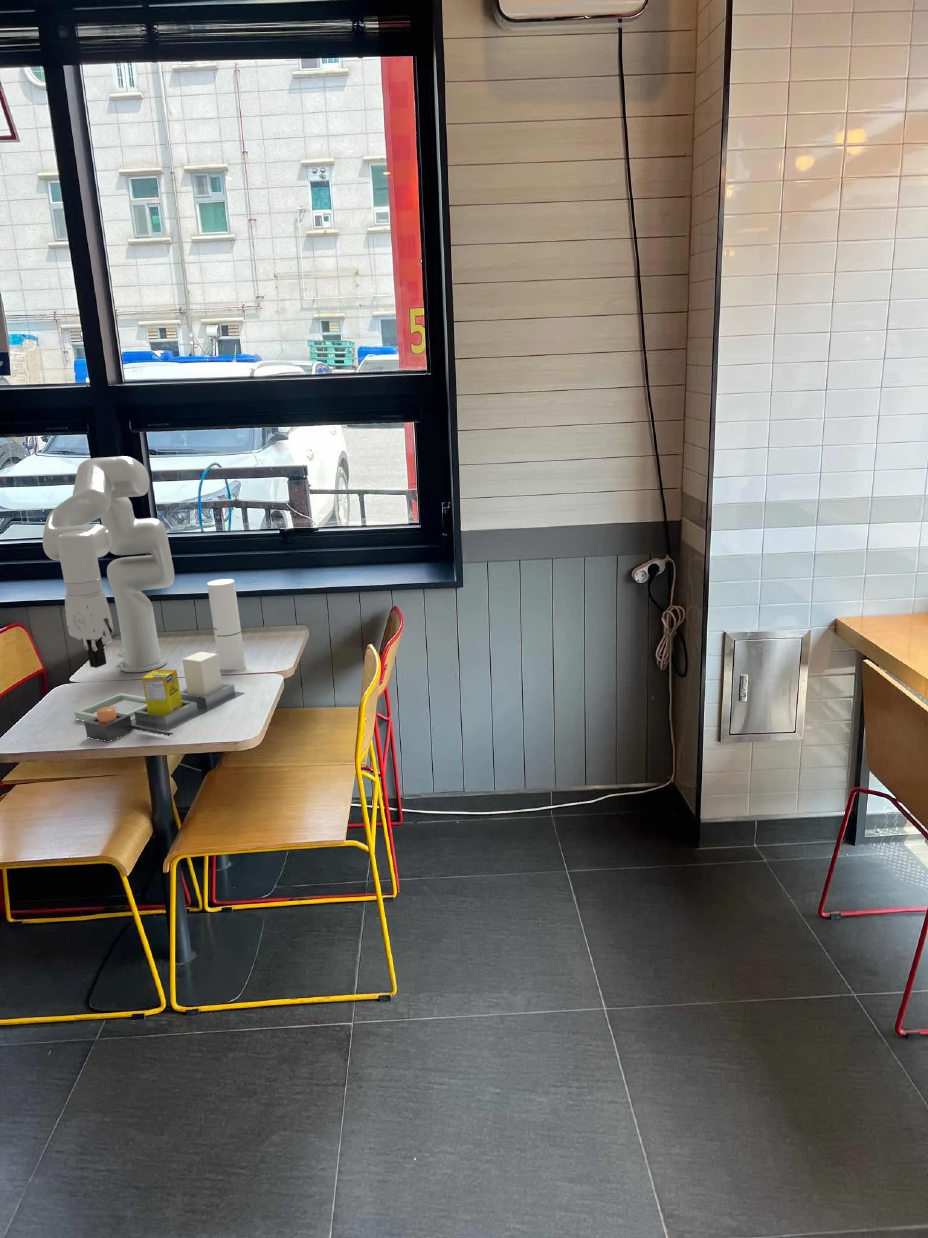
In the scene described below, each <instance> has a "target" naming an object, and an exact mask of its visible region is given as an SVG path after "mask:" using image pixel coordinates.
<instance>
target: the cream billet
mask: <svg viewBox="0 0 928 1238" xmlns="http://www.w3.org/2000/svg"><path fill="white" fill-rule="evenodd" d="M182 666H183V673H184V679H185V684H186V688H187V693H188V694H194V695H201V696H207V695H209V694H211V693H213V692H215V691H218V690H220V689H222V688H223V687H222V683H223V680H222V674H221V669H220V665H219V658H218V654H217V653H212V652H207V651H206V652H205V651H198V652H196V653H194V654H191V655H189V656H187V657H184V658H182Z"/></svg>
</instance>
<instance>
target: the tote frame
mask: <svg viewBox="0 0 928 1238" xmlns="http://www.w3.org/2000/svg"><path fill="white" fill-rule="evenodd" d="M125 700H130V701H135V702H142V703H145V704H143V705H142V706H139V707H137V708H135V709H132V710H130V711H128V712H126V713H124V714H126V715H130V718H131V717H133V716H135V714H134V712H135V711H137V710H139V709H141V708H144V707H146V706H147V704H146V699H145V696H139V695H134V694H129V693H122V692H120V693H117V694H116V695H113V696H110V697H108V698H106V699H103V700H101V701H98V702H97V703H94V704H91V705H89V706H87V707H84V708H82V709H79V710H77V711H75V712H74V716H75V720H76V719H79V720H84V721H88V720H90V719H93V718H95V717H97V710H98V709H101V708H104V707H112V706H114V705H116V704H118V703H120V702H122V701H125Z"/></svg>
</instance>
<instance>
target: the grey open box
mask: <svg viewBox="0 0 928 1238" xmlns="http://www.w3.org/2000/svg"><path fill="white" fill-rule="evenodd" d="M222 687H223V688H222V689H220V690H218V691H215V692H213V693H211V694H209V695H207V696H201V695H194V694H188V693H187V687H186V688H184V689H182V690H180V695H181V702H182V707H181V708H179V709H177V710H175V711H173V712H171V713H169V714H167V715H161V714H155V713H150V712H148V710H147V706H146V707H144V708H141V709H139V710H137V711H135V712H134V714H135V715H134V717H133V719H131V724H132V730H135V729H136V730H137V731H141V730H142V732H146V731H148V733H152V734H156V733H157V734H158V735H161V734H164V735H163V736H166V735H167V737H170V736H171V735H170V734H172V735H173V732H170V731H171V730H173V729H175V728H177V727H179V726H182V725H183V724H185V723H188V722H190V721H192V720H194V719H196V718H197V717H200V716H203V715H204V714H207V713H208V712H210V711H212V710H214V709H216V708H218V707H220V706H223V705H224V704H226V703H229V702H230V701H233V700H234V699H237V698H239V697H240V696H242V695H245V694H246V692H242V691H236V690H235V689H236V688H235V684H234V683H227V682H222ZM133 728H134V729H133ZM136 730H135V731H136ZM169 735H170V736H169Z"/></svg>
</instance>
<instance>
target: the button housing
mask: <svg viewBox="0 0 928 1238" xmlns="http://www.w3.org/2000/svg"><path fill="white" fill-rule="evenodd" d="M116 716H117V719H115V720H113V721H111V722H109V723H101V722H98V717H95V718H93V719H90V720H88V721H86V722H83V723H84V726H85V727H84V728H85V733H86V737H90V738H93V739H99V740H103V741H104V740H105V741H108V742H109V741H111V740H113V739H115V740H117V739H118V738H117V737H119V738H121V737H120V736H122V737H124V736H125V735H124V734H126V735H128V734H130V733H132V732H134V731H133V730H134V729H132V726H133V725H132V724H131V720H132V719H131V717H130V715H126V714H125V713H120V712H116ZM131 731H132V732H131ZM127 733H128V734H127ZM123 735H124V736H123ZM116 738H117V739H116ZM93 739H92V740H93ZM103 741H102V742H103ZM113 741H114V740H113ZM108 742H107V743H108ZM111 742H112V741H111ZM109 743H110V742H109Z"/></svg>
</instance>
